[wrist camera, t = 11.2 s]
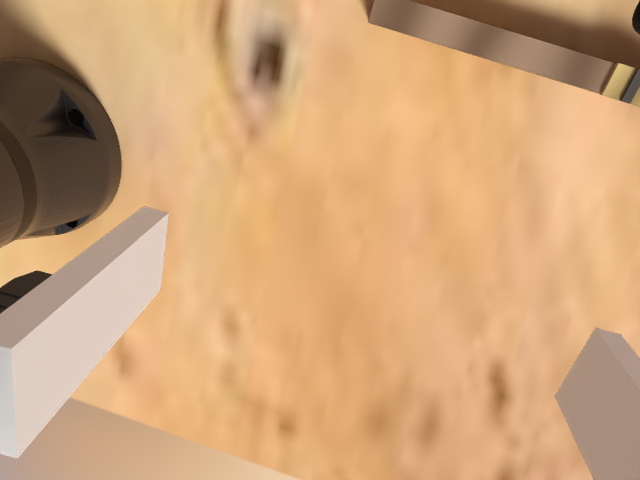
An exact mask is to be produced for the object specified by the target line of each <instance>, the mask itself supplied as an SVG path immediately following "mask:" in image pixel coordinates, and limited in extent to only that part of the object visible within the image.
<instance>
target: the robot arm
mask: <svg viewBox="0 0 640 480" xmlns="http://www.w3.org/2000/svg"><path fill="white" fill-rule="evenodd" d="M120 178H121V154H120V148H119V144H118V140H117V137H116V134H115V131H114V129H113V126H112V124H111V122H110V120H109V118H108V116H107V115H106V113H105V111H104V110H103V108H102V107H101V105H100V104H99V103H98V101H97V100H96V99H95V97H94V96H93V95H92V94H91V93H90V92H89V91H88V90H87V89H86V88H85V87H84V86H83V85H82V84H81V83H80V82H78V81H77V80H76V79H75V78H73V77H72V76H70V75H69V74H67V73H66V72H64V71H63V70H61V69H59V68H57V67H55V66H53V65H50V64H48V63H45V62H42V61H38V60H33V59H27V58H11V59H0V248H1V247H3V246H5V245H7V244H8V243H10V242H12V241H14V240H19V239H28V238H36V237H44V236H52V235H59V234H64V233H68V232H71V231H74V230H76V229H78V228H80V227H82V226H84V225H86V224H87V223H89V222H90V221H92V220H94V219H95V218H97V217H98V216H100V215H101V214H102V213H103V212H104V211H105V210H106V209H107V208H108V207H109V205H110V204H111V202H112V201H113V199H114V197H115V195H116V193H117V190H118V187H119V183H120ZM168 216H169V213H168V212H164V211H160V210H156V209H153V208H149V207H145V206H144V207H142V208H141V209H140V210H138V211H137V212H136V213H134V214H133V215H132V216H130V217H129V218H128V219H126V220H125V221H124V222H122V223H121V224H120V225H118V226H117V227H116V228H114V229H113V230H112V231H110V232H109V233H108V234H106V235H105V236H104V237H102V238H101V239H100V240H98V241H97V242H96V243H94V244H93V245H92V246H90V247H89V248H88V249H86V250H85V251H84V252H82V253H81V254H80V255H78V256H77V257H76V258H74V259H73V260H72V261H70V262H69V263H68V264H66V265H65V266H63V267H62V268H61V269H59V270H58V271H57V272H55V273H54V274H53V275H52V274H48V273H45V272H41V271H34V272H32V273H29V274H26V275H23V276H20V277H17V278H14V279H13V280H11V281H10V282H8V283H7V284H5V285H4V286H2V287H1V288H0V454H3V455H6V456H10V457H14V458H18V457H19V456H20V455H21V454H22V453H23V451H24V450H25V449H26V448H27V447H28V445H29V444H30V443H31V442H32V441H33V440H34V438H35V437H36V436H37V435H38V434H39V432H40V431H41V430H42V429H43V428H44V427H45V425H46V424H47V423H48V422H49V420H50V419H51V418H52V417H53V416H54V415H55V414H56V412H57V411H58V410H59V409H60V407H61V406H62V405H63V404H64V403H65V402H66V400H67V399H68V398H69V397H70V396H71V395H72V394H73V392H74V391H75V390H76V389H77V388H78V387H79V385H80V384H81V383H82V382H83V381H84V379H85V378H86V377H87V376H88V375H89V374H90V372H91V371H92V370H93V369H94V368H95V366H96V365H97V364H98V363H99V362H100V361H101V359H102V358H103V357H104V356H105V355H106V353H107V352H108V351H109V350H110V349H111V348H112V346H113V345H114V344H115V343H116V342H117V341H118V339H119V338H120V337H121V336H122V335H123V333H124V332H125V331H126V330H127V329H128V328H129V326H130V325H131V324H132V323H133V322H134V320H135V319H136V318H137V317H138V316H139V315H140V313H141V312H142V311H143V310H144V309H145V307H146V306H147V305H148V304H149V303H150V302H151V300H152V299H153V298H154V297H155V296H156V295H157V293H158V292H159V291H160V290H161V282H162V272H163V263H164V253H165V244H166V235H167V225H168ZM555 398H556V400H557V402H558V405H559V407H560V409H561V411H562V413H563V415H564V417H565V419H566V422H567V424H568V426H569V428H570V430H571V432H572V434H573V436H574V439H575V441H576V443H577V445H578V447H579V449H580V451H581V453H582V456H583V458H584V460H585V462H586V464H587V466H588V468H589V471H590V473H591V475H592V477H593V479H594V480H640V358H639V357H638V356H637V354H636V353H635V352H634V351H633V349H632V348H631V347H630V346H629V344H628V343H627V342H626V340H625V339H624V338H623V337H622V335H621V334H618V333H614V332H610V331H606V330H603V329H599V328H595V329H594V331H593V333H592V335H591V336H590V338H589V340H588V341H587V343H586V345H585V346H584V348H583V350H582V351H581V353H580V355H579V356H578V358H577V360H576V361H575V363H574V365H573V366H572V368H571V370H570V371H569V373H568V375H567V376H566V378H565V380H564V381H563V383H562V385H561V387H560V388H559V390H558V392H557V393H556V395H555Z"/></svg>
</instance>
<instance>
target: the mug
mask: <svg viewBox="0 0 640 480" xmlns="http://www.w3.org/2000/svg"><path fill="white" fill-rule="evenodd" d="M632 25H633V28H634V30H635V31H636V32H637V33H638V34H639V35H640V1H639V3H638V5H637V7H636V9H635V12H634V14H633V18H632Z"/></svg>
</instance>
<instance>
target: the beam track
mask: <svg viewBox="0 0 640 480" xmlns="http://www.w3.org/2000/svg"><path fill="white" fill-rule="evenodd" d="M368 23H371V24H374V25H378V26H381V27H384V28H387V29H391V30H394V31H397V32H400V33H404V34H407V35H410V36H413V37H417V38H420V39H423V40H426V41H430V42H433V43H436V44H439V45H443V46H446V47H449V48H452V49H456V50H459V51H462V52H465V53H469V54H472V55H475V56H478V57H482V58H485V59H488V60H491V61H495V62H498V63H501V64H504V65H508V66H511V67H514V68H517V69H521V70H524V71H527V72H530V73H534V74H537V75H540V76H543V77H547V78H550V79H553V80H556V81H560V82H563V83H566V84H570V85H573V86H576V87H579V88H583V89H586V90H589V91H592V92H596V93H599V94H600V95H603V96H607V97H610V98H613V99H616V100H620V101H623V102H626V103H629V104H633V105H636V106H639V107H640V69H637V68H633V67H630V66H627V65H624V64H620V63H613V62H609V61H606V60H603V59H600V58H596V57H593V56H590V55H586V54H583V53H580V52H577V51H573V50H570V49H567V48H564V47H560V46H557V45H554V44H551V43H547V42H544V41H541V40H537V39H534V38H531V37H528V36H524V35H521V34H518V33H515V32H511V31H508V30H505V29H501V28H498V27H495V26H492V25H488V24H485V23H482V22H479V21H475V20H472V19H469V18H466V17H462V16H459V15H456V14H452V13H449V12H446V11H443V10H439V9H436V8H433V7H430V6H426V5H423V4H420V3H417V2H413V1H410V0H374V3H373V7H372V10H371V13H370V17H369V20H368Z"/></svg>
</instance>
